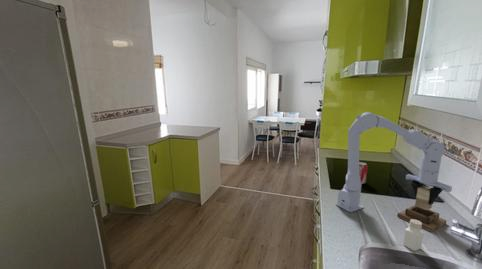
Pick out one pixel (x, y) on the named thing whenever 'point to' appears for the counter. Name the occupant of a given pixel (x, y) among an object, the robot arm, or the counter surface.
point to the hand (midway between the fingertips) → (424, 201)
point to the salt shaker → (413, 235)
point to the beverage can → (363, 172)
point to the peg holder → (423, 217)
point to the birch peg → (423, 198)
